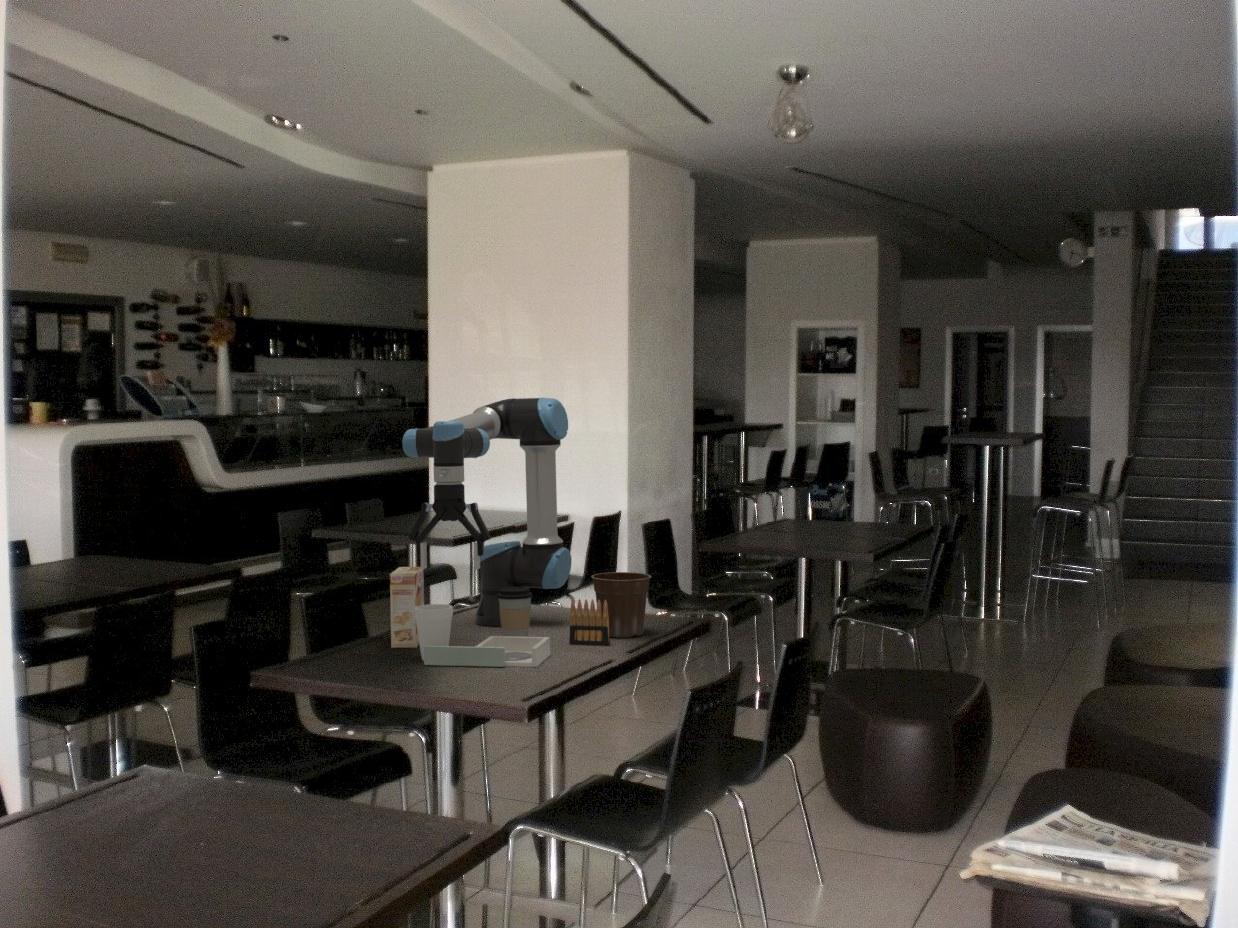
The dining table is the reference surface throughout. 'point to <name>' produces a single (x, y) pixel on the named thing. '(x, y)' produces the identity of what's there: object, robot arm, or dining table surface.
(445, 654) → the gate
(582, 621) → the ammunition clip
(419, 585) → the coffeecake box
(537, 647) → the housing
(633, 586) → the plant pot
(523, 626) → the coffee cup
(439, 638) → the foam cup
